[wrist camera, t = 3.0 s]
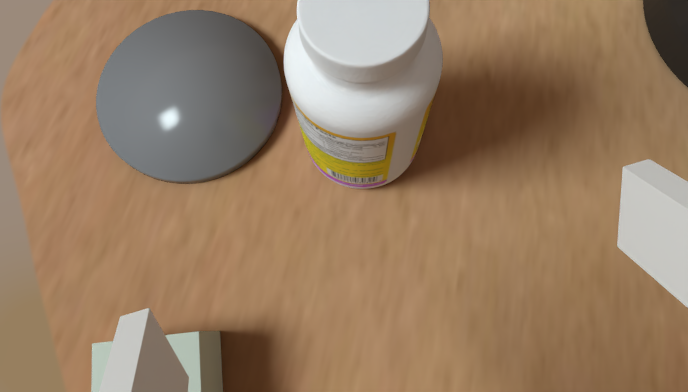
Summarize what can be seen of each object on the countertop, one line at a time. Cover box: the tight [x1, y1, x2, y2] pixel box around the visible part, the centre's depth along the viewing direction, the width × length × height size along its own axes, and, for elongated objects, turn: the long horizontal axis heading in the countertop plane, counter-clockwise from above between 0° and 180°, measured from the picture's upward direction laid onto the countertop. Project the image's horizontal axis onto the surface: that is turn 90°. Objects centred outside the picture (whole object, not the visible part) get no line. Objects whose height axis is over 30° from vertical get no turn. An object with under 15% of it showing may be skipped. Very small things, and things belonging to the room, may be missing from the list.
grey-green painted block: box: [92, 331, 223, 392], centre depth 25 cm, size 5×5×4 cm
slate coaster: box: [96, 10, 282, 184], centre depth 31 cm, size 11×11×1 cm
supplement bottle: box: [284, 0, 443, 189], centre depth 24 cm, size 7×7×13 cm
